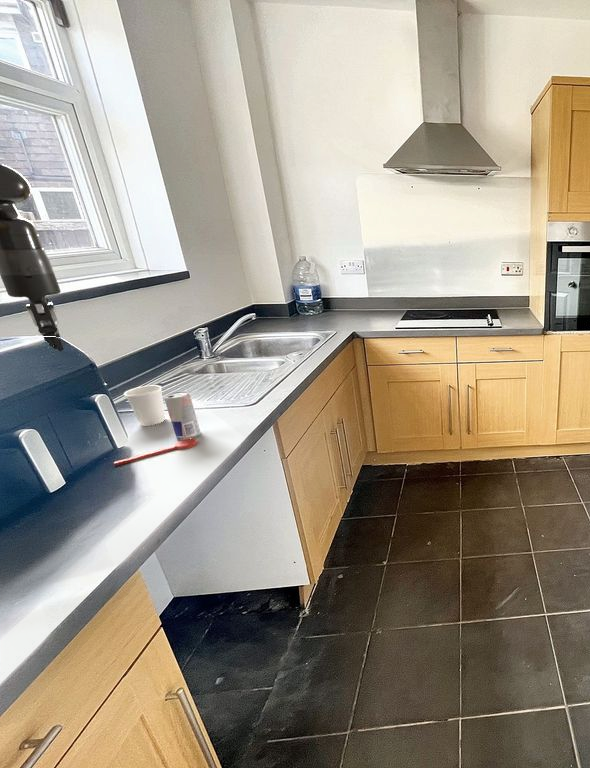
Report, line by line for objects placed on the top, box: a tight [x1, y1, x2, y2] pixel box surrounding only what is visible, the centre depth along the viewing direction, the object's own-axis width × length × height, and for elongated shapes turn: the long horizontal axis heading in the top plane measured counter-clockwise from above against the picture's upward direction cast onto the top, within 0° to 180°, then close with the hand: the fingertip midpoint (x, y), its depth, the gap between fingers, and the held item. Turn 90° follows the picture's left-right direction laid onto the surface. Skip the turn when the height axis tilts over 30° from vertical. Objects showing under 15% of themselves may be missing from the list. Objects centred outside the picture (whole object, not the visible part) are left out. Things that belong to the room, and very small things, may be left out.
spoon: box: [113, 438, 198, 467], centre depth 103 cm, size 16×4×1 cm, turn 136°
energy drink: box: [164, 390, 201, 441], centre depth 111 cm, size 5×5×12 cm
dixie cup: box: [123, 384, 166, 427], centre depth 119 cm, size 8×8×10 cm
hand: (56, 347), depth 91 cm, fingers open, 8 cm apart
